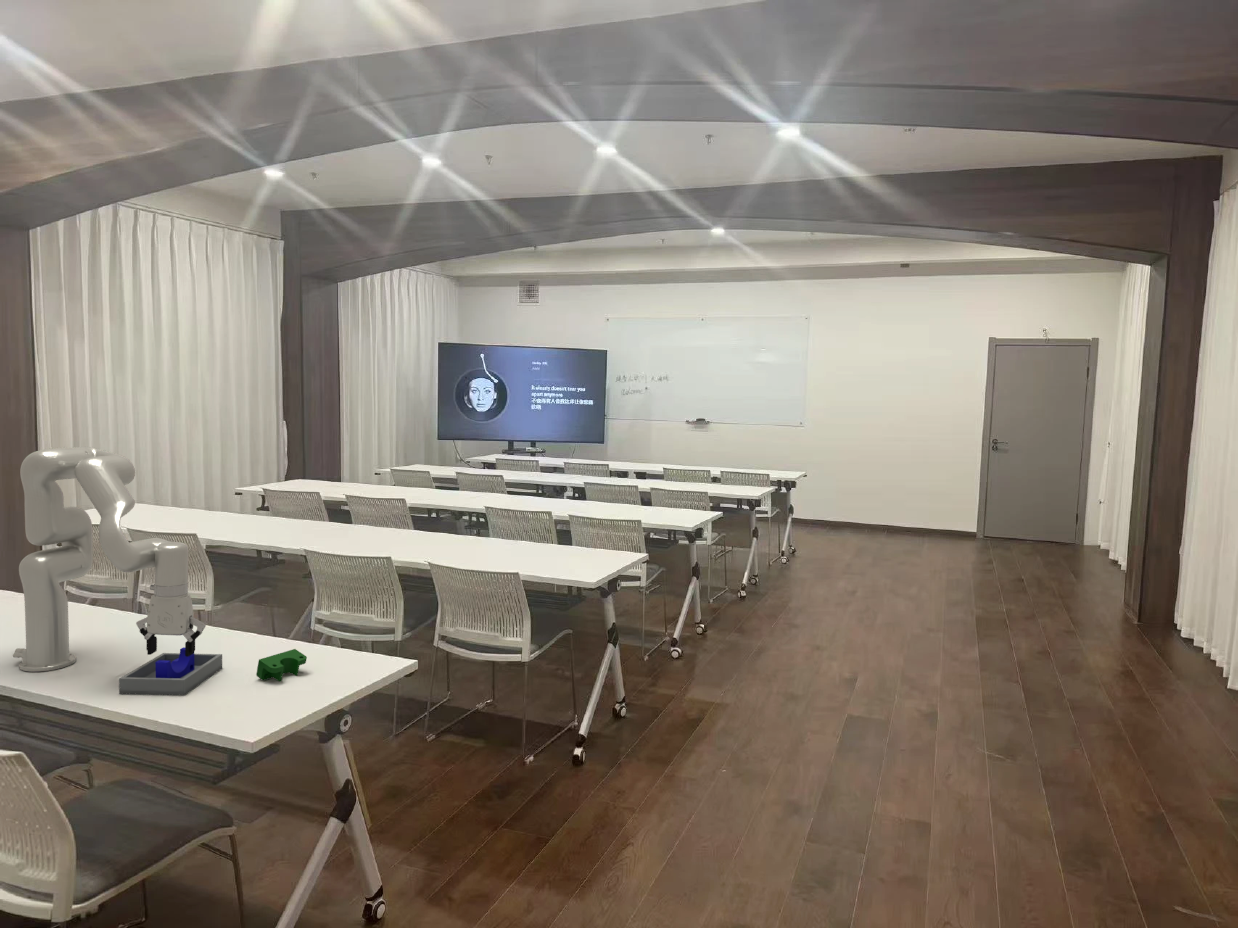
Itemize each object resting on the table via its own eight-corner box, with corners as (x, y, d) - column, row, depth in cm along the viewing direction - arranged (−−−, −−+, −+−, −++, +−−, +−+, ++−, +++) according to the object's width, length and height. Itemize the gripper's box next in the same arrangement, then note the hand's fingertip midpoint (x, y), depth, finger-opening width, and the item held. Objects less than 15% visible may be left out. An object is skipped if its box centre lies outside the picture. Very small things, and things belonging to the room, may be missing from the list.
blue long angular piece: (178, 668, 213) (177, 647, 213) (194, 669, 213) (194, 647, 212) (150, 684, 201) (149, 661, 201) (167, 685, 201) (166, 662, 200)
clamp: (274, 697, 209) (267, 673, 204) (260, 687, 212) (252, 663, 207) (312, 670, 218) (306, 646, 213) (298, 661, 220) (291, 637, 216)
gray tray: (119, 694, 197) (118, 678, 197) (163, 667, 217) (163, 652, 216) (184, 695, 197) (184, 679, 197) (222, 668, 217) (222, 654, 217)
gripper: (129, 591, 201) (128, 657, 203) (197, 595, 202) (197, 660, 203) (145, 584, 209) (145, 647, 210) (212, 588, 209) (211, 651, 211)
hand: (170, 654), depth 207 cm, fingers open, 9 cm apart
